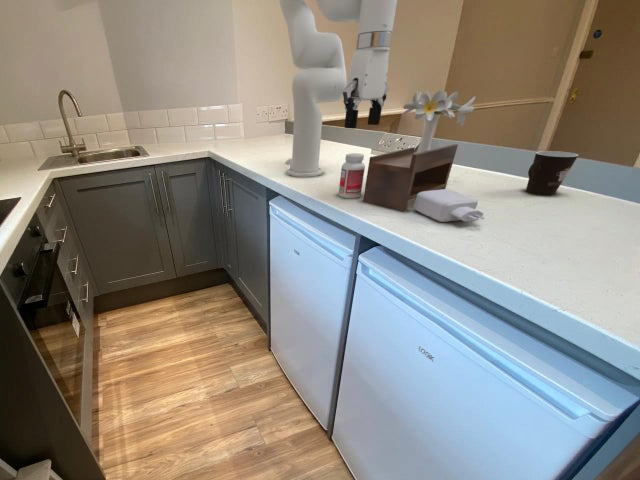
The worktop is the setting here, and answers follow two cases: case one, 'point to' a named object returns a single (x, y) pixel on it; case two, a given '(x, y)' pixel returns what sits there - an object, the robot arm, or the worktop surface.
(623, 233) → the worktop surface
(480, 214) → the charger
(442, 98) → the flower vase
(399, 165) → the box
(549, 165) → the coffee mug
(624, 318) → the worktop surface
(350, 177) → the pill bottle
